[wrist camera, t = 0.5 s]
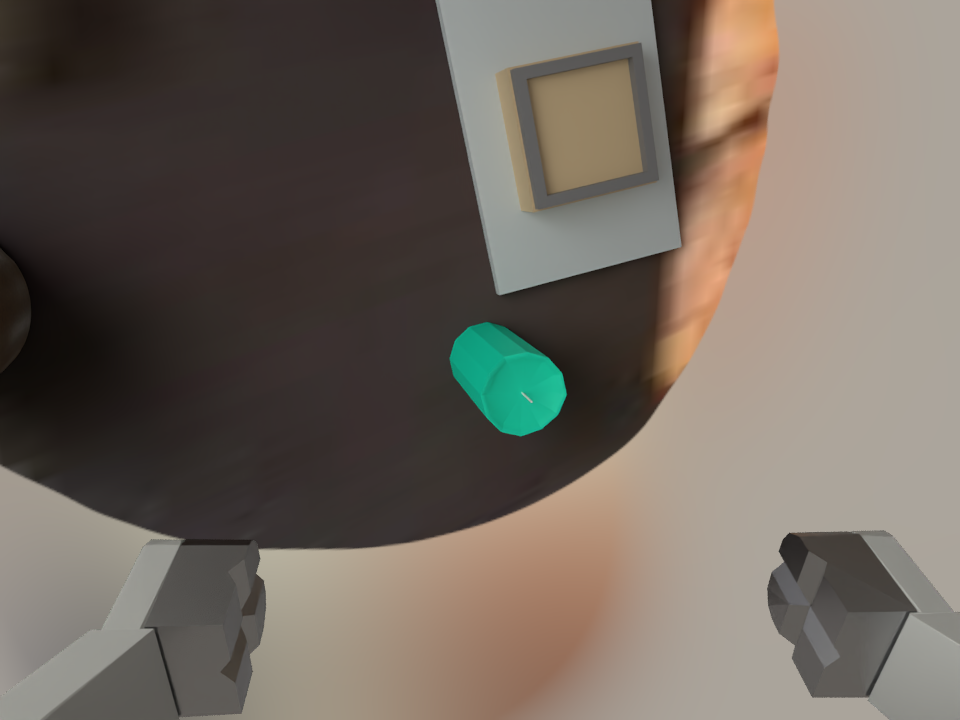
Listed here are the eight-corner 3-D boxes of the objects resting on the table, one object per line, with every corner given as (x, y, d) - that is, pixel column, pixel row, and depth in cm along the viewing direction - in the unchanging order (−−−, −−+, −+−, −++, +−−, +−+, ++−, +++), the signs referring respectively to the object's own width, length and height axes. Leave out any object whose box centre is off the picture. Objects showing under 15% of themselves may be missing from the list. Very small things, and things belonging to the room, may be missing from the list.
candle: (522, 322, 57) (578, 356, 46) (518, 392, 59) (570, 442, 48) (451, 321, 56) (490, 358, 45) (448, 393, 57) (485, 446, 46)
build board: (434, -5, 50) (448, -24, 45) (639, -43, 53) (670, -63, 48) (496, 293, 56) (513, 303, 52) (675, 245, 59) (706, 251, 55)
